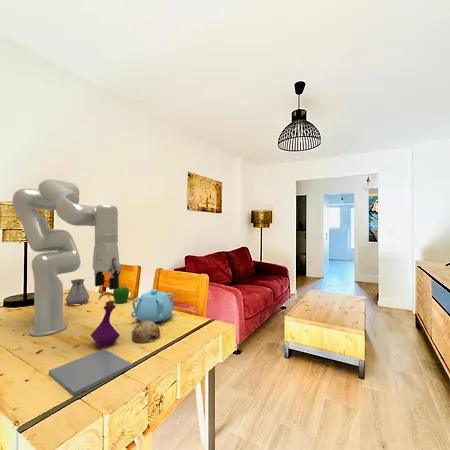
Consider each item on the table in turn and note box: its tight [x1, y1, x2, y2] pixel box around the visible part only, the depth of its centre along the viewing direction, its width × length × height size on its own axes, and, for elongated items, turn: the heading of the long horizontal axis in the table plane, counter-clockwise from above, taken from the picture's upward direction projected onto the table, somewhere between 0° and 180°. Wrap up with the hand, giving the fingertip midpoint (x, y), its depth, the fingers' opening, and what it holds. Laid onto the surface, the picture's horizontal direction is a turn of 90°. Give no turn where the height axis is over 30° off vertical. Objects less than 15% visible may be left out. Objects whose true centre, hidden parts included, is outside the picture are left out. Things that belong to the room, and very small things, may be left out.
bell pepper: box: [112, 283, 130, 304], centre depth 140 cm, size 8×8×10 cm
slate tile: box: [48, 348, 133, 397], centre depth 72 cm, size 16×16×1 cm
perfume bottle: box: [90, 293, 120, 349], centre depth 89 cm, size 8×8×18 cm
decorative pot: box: [130, 288, 176, 323], centre depth 113 cm, size 16×16×14 cm
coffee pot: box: [65, 278, 90, 305], centre depth 134 cm, size 21×12×15 cm, turn 31°
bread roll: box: [131, 321, 161, 344], centre depth 94 cm, size 10×10×8 cm
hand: (106, 287), depth 89 cm, fingers open, 9 cm apart
